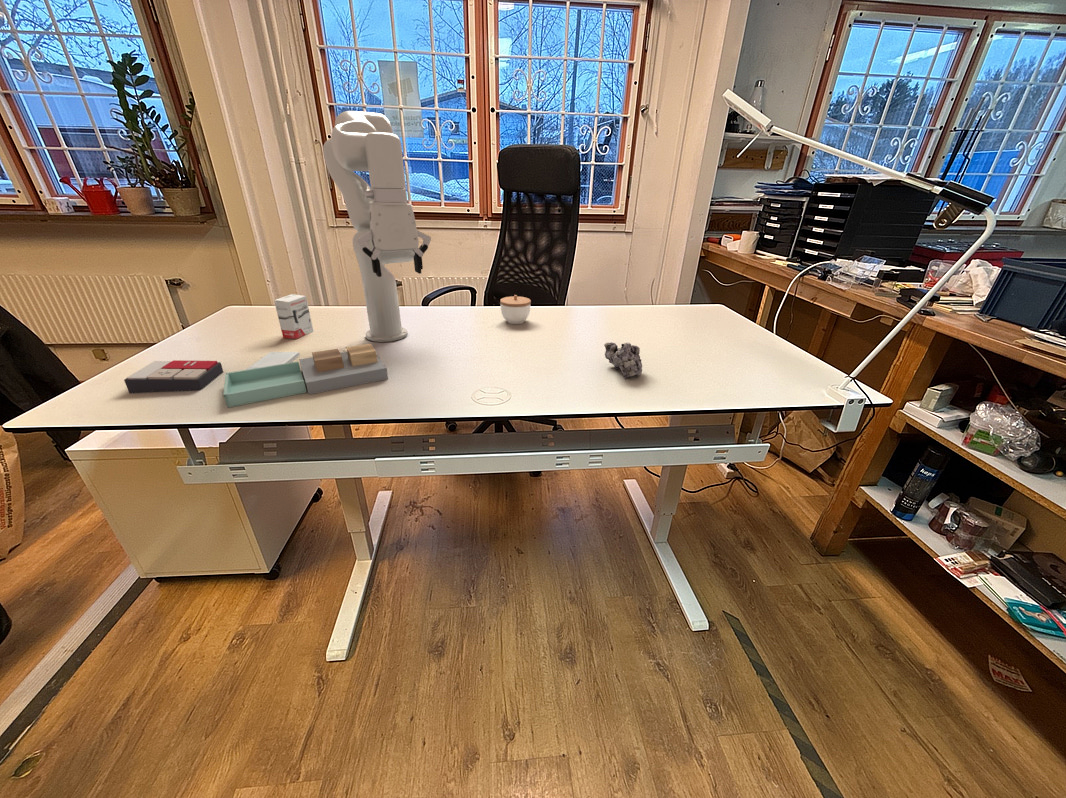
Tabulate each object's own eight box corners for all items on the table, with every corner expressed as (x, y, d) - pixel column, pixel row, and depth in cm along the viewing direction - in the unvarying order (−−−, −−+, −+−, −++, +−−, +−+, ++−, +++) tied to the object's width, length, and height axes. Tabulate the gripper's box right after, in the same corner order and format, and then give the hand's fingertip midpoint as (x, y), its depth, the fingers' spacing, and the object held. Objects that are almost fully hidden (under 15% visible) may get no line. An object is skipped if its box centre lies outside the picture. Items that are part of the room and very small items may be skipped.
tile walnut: (314, 363, 105) (311, 352, 104) (339, 359, 108) (337, 348, 107) (317, 372, 101) (314, 360, 100) (344, 367, 104) (341, 356, 102)
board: (301, 370, 109) (299, 359, 108) (373, 357, 118) (371, 347, 116) (308, 394, 97) (305, 382, 96) (388, 378, 106) (386, 367, 104)
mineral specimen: (599, 348, 117) (618, 326, 110) (628, 358, 120) (649, 336, 112) (600, 383, 110) (620, 362, 103) (631, 393, 113) (653, 372, 105)
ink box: (296, 339, 129) (287, 301, 124) (282, 338, 130) (272, 300, 125) (314, 331, 137) (306, 294, 131) (301, 329, 138) (292, 293, 132)
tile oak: (348, 358, 109) (346, 347, 108) (372, 354, 112) (370, 343, 111) (352, 366, 105) (350, 354, 103) (377, 361, 107) (375, 350, 106)
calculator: (196, 377, 96) (121, 376, 94) (201, 394, 98) (128, 394, 96) (220, 359, 106) (153, 358, 103) (225, 374, 108) (158, 374, 105)
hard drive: (269, 351, 117) (243, 369, 106) (299, 351, 118) (277, 369, 107) (270, 357, 118) (245, 375, 107) (300, 357, 118) (278, 375, 107)
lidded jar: (499, 317, 155) (499, 291, 151) (528, 317, 156) (529, 291, 152) (501, 326, 146) (500, 299, 141) (531, 325, 147) (532, 299, 142)
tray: (229, 384, 101) (225, 373, 99) (301, 372, 108) (298, 361, 107) (227, 407, 91) (223, 395, 89) (306, 392, 98) (303, 380, 97)
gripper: (352, 197, 89) (365, 280, 97) (432, 198, 97) (438, 274, 105) (346, 196, 94) (359, 274, 102) (421, 196, 102) (428, 268, 110)
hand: (398, 274), depth 103 cm, fingers open, 9 cm apart
